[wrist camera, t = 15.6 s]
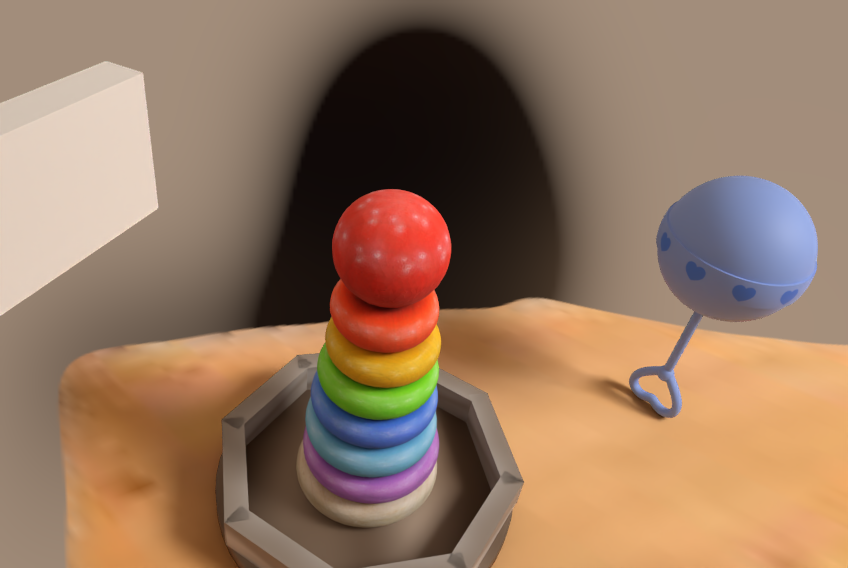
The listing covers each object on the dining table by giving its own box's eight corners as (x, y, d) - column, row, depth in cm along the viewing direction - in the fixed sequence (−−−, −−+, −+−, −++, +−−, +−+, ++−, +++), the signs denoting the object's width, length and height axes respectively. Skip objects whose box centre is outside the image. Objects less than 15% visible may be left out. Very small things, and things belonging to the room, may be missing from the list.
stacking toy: (280, 437, 41) (278, 156, 29) (403, 406, 44) (445, 141, 32) (319, 554, 35) (336, 263, 24) (457, 509, 38) (530, 233, 27)
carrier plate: (463, 367, 49) (471, 336, 47) (554, 597, 36) (568, 567, 34) (215, 388, 44) (212, 355, 43) (218, 659, 32) (214, 628, 30)
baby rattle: (740, 421, 48) (876, 203, 37) (672, 481, 43) (805, 250, 32) (640, 349, 53) (734, 136, 42) (568, 395, 48) (654, 168, 37)
